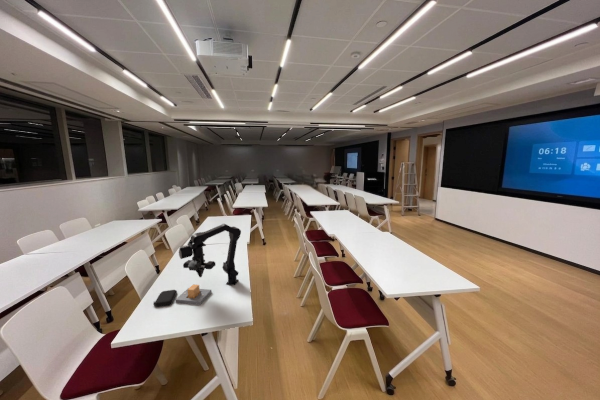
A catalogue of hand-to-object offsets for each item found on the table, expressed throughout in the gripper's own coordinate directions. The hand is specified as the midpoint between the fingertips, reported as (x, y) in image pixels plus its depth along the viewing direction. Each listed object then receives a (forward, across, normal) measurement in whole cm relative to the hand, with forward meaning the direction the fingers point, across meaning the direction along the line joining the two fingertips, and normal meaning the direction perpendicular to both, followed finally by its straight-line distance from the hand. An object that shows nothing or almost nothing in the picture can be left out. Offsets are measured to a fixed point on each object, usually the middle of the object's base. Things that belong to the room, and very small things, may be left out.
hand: (200, 277), depth 149 cm
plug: (+12, -3, -5) cm, 13 cm away
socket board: (+11, -3, -5) cm, 13 cm away
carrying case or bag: (+12, -19, -9) cm, 24 cm away
